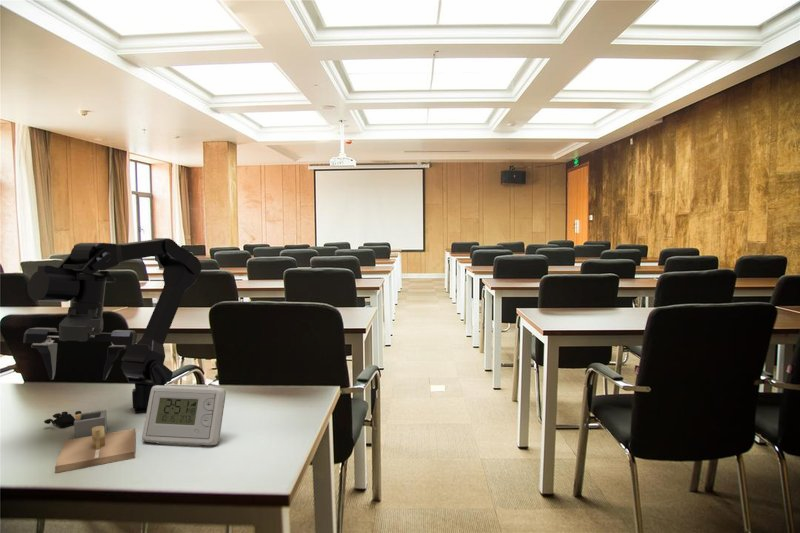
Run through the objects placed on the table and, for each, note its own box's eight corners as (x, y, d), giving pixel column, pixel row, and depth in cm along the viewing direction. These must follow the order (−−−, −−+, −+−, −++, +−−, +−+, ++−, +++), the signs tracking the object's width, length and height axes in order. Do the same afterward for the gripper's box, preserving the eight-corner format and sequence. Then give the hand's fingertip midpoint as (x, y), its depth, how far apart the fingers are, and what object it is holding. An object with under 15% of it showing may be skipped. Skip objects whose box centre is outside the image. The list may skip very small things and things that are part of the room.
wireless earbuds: (50, 427, 99) (40, 415, 102) (49, 437, 100) (39, 425, 102) (87, 416, 105) (77, 405, 107) (86, 426, 105) (76, 414, 108)
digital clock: (136, 443, 94) (135, 390, 93) (171, 426, 102) (170, 378, 102) (204, 455, 89) (202, 399, 88) (234, 436, 97) (233, 385, 97)
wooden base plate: (135, 434, 98) (134, 411, 98) (134, 457, 88) (133, 433, 87) (65, 446, 92) (64, 422, 92) (55, 473, 82) (54, 446, 82)
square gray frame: (107, 428, 101) (106, 406, 101) (105, 436, 97) (104, 414, 97) (77, 432, 99) (77, 411, 99) (74, 442, 94) (73, 419, 94)
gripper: (16, 300, 87) (5, 386, 86) (131, 305, 94) (122, 385, 92) (38, 300, 98) (29, 377, 96) (140, 305, 104) (133, 377, 103)
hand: (78, 379), depth 96 cm, fingers open, 9 cm apart
